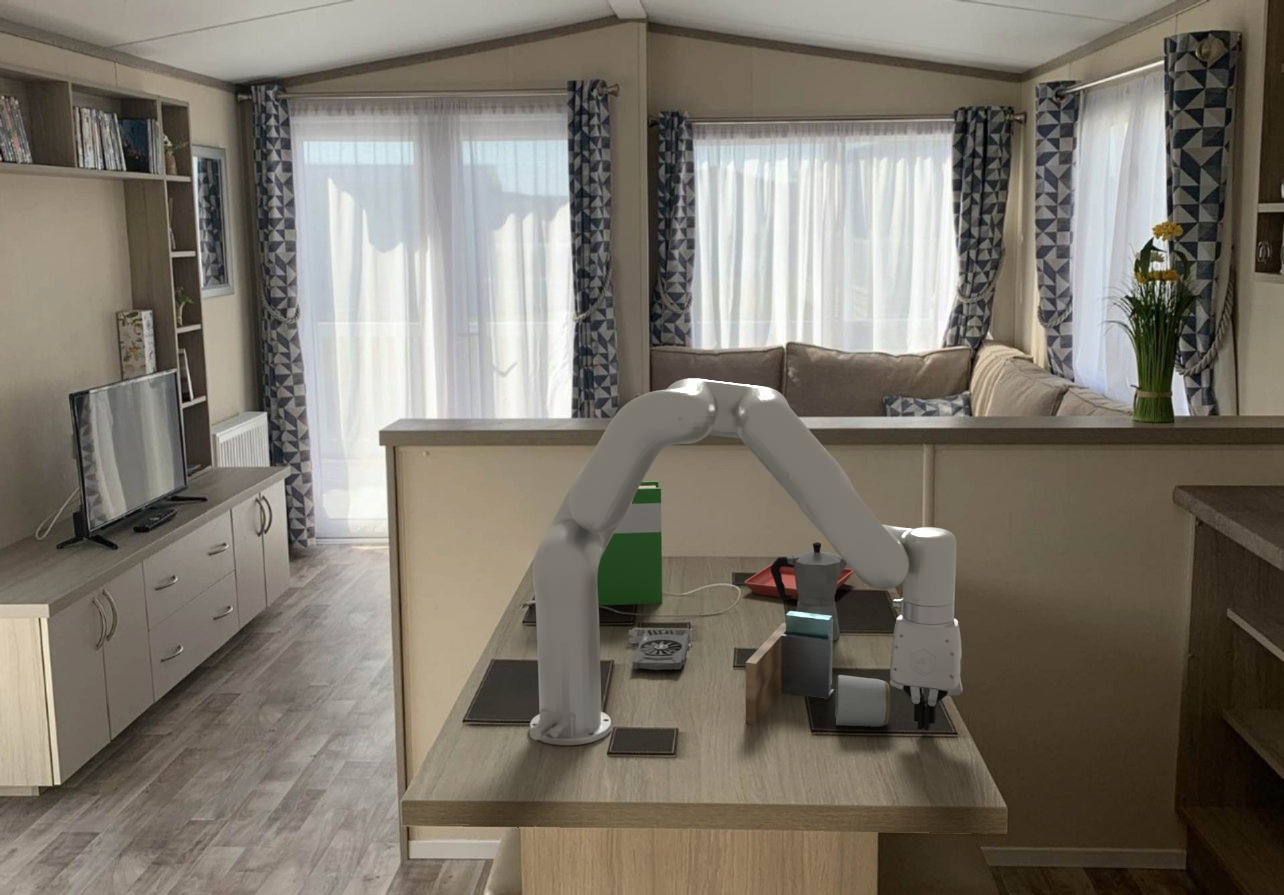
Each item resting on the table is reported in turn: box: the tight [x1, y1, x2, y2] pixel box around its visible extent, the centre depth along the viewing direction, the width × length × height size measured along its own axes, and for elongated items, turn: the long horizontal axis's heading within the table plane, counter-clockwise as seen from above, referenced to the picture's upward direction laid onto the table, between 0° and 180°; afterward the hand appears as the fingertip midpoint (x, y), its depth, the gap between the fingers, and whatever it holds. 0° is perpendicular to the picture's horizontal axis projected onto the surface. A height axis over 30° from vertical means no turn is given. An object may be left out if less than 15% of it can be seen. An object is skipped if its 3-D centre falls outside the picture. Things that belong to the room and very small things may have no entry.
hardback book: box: [597, 480, 663, 606], centre depth 254 cm, size 18×7×24 cm, turn 94°
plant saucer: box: [744, 562, 854, 601], centre depth 262 cm, size 18×18×3 cm
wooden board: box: [745, 622, 786, 726], centre depth 201 cm, size 20×2×10 cm, turn 157°
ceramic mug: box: [834, 674, 891, 728], centre depth 194 cm, size 11×8×8 cm
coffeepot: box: [770, 542, 848, 642], centre depth 231 cm, size 15×9×18 cm, turn 99°
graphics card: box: [628, 627, 693, 671], centre depth 222 cm, size 17×4×12 cm
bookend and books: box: [781, 610, 835, 699], centre depth 205 cm, size 6×8×13 cm
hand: (924, 726), depth 188 cm, fingers closed
